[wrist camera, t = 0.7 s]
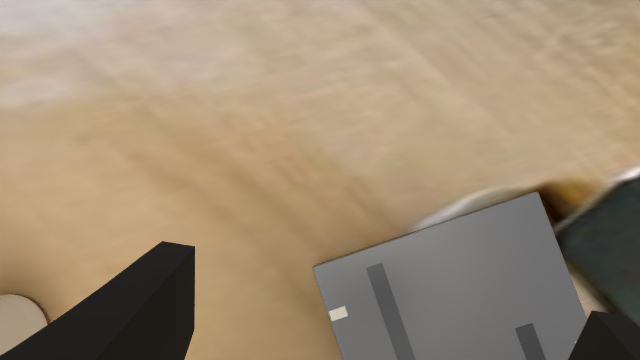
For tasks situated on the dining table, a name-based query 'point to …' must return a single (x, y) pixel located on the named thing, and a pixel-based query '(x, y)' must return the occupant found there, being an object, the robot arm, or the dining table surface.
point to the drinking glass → (18, 320)
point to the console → (458, 291)
